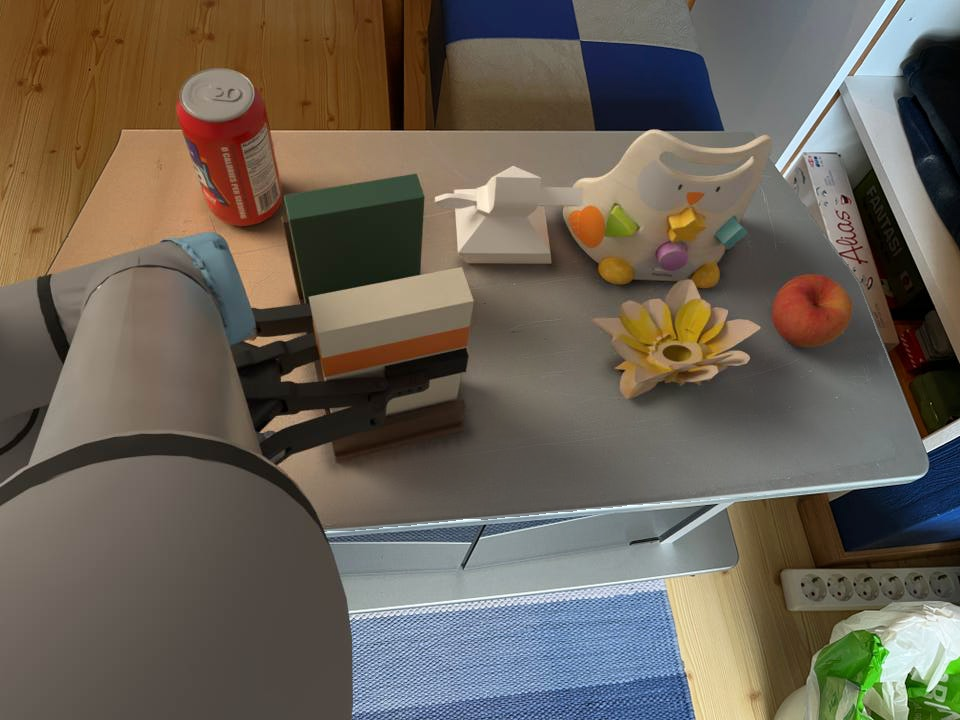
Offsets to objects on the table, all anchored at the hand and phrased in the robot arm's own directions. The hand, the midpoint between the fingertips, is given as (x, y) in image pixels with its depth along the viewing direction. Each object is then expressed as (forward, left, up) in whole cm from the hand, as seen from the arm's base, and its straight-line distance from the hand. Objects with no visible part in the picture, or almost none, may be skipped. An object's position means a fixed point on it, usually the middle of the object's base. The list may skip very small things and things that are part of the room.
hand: (458, 340), depth 60 cm
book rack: (+2, +8, -13) cm, 15 cm away
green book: (+8, +11, -12) cm, 18 cm away
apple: (+18, -33, -13) cm, 40 cm away
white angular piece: (+20, 0, -13) cm, 24 cm away
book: (-3, +5, -10) cm, 11 cm away
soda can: (+17, +27, -13) cm, 34 cm away
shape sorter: (+24, -17, -13) cm, 32 cm away
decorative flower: (+11, -20, -13) cm, 27 cm away
